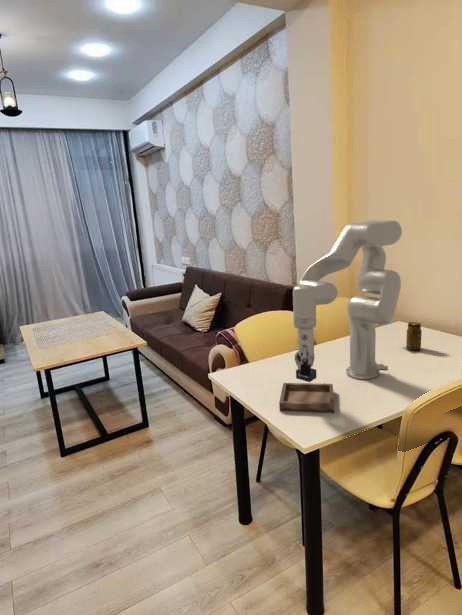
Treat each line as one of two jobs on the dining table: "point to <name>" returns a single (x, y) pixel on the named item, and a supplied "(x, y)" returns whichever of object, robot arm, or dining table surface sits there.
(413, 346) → the condiment
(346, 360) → the dining table surface
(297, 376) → the watch
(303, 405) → the tray
